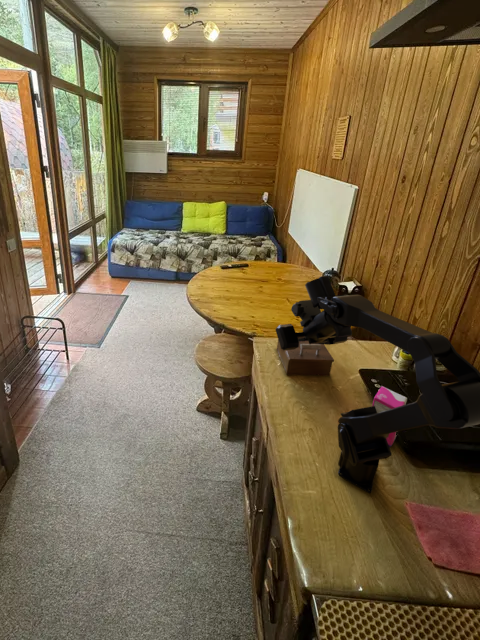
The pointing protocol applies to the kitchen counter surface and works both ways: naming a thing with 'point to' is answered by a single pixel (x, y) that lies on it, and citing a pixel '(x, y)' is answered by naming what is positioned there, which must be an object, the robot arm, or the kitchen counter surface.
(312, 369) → the chest
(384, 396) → the supplement box
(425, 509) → the kitchen counter surface
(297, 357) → the lid
